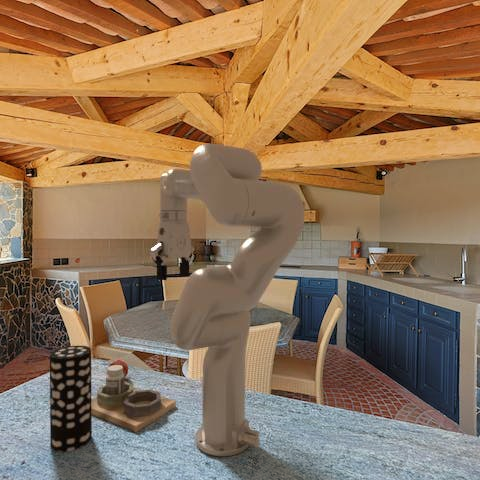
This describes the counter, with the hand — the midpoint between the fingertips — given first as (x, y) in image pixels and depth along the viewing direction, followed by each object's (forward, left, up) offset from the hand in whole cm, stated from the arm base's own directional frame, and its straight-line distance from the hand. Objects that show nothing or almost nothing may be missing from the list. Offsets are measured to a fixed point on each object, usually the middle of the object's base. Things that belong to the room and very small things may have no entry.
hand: (173, 277), depth 103 cm
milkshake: (-13, 0, -34) cm, 36 cm away
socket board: (+4, +13, -33) cm, 36 cm away
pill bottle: (+9, +13, -32) cm, 36 cm away
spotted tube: (+4, +30, -34) cm, 45 cm away
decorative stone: (+21, +2, -34) cm, 40 cm away
